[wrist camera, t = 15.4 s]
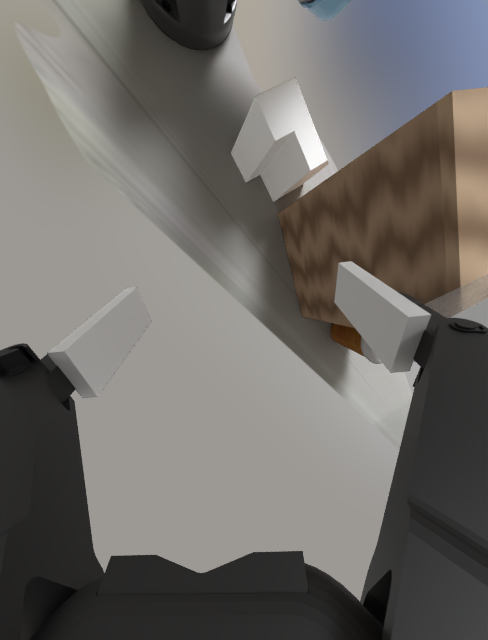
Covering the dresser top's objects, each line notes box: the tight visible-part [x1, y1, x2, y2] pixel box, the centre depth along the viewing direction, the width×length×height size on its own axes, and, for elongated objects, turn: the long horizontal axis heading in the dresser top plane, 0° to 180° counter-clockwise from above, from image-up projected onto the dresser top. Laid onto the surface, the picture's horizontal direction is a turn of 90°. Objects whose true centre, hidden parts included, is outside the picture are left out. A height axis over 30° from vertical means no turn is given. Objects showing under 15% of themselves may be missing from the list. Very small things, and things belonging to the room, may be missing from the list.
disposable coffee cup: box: [331, 323, 382, 364], centre depth 46 cm, size 10×10×12 cm
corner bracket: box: [231, 77, 328, 202], centre depth 35 cm, size 11×11×12 cm
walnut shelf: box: [278, 87, 488, 328], centre depth 33 cm, size 22×12×28 cm, turn 18°
